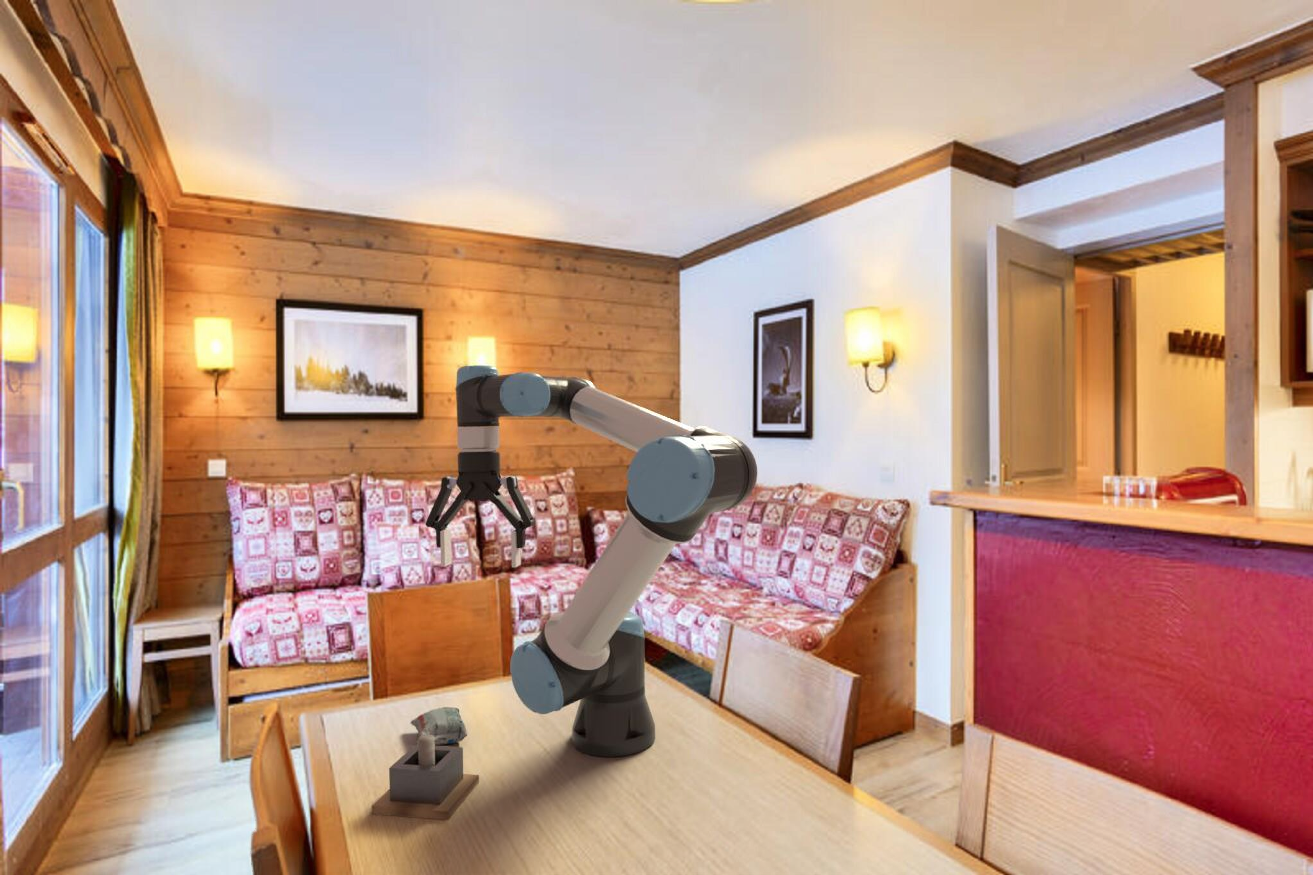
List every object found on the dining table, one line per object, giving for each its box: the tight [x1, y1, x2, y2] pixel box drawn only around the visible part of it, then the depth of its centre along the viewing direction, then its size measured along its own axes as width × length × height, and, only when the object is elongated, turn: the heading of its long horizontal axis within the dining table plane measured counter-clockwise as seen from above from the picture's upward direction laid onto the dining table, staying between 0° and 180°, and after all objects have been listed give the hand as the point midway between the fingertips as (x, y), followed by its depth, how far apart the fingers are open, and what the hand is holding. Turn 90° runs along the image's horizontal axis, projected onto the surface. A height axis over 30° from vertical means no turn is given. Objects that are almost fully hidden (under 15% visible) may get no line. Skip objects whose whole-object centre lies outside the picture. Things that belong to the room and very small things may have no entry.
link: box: [388, 744, 464, 805], centre depth 109 cm, size 8×8×5 cm
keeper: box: [371, 735, 480, 820], centre depth 109 cm, size 12×11×9 cm
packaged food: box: [410, 706, 468, 746], centre depth 130 cm, size 9×12×5 cm
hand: (481, 565), depth 130 cm, fingers open, 13 cm apart
